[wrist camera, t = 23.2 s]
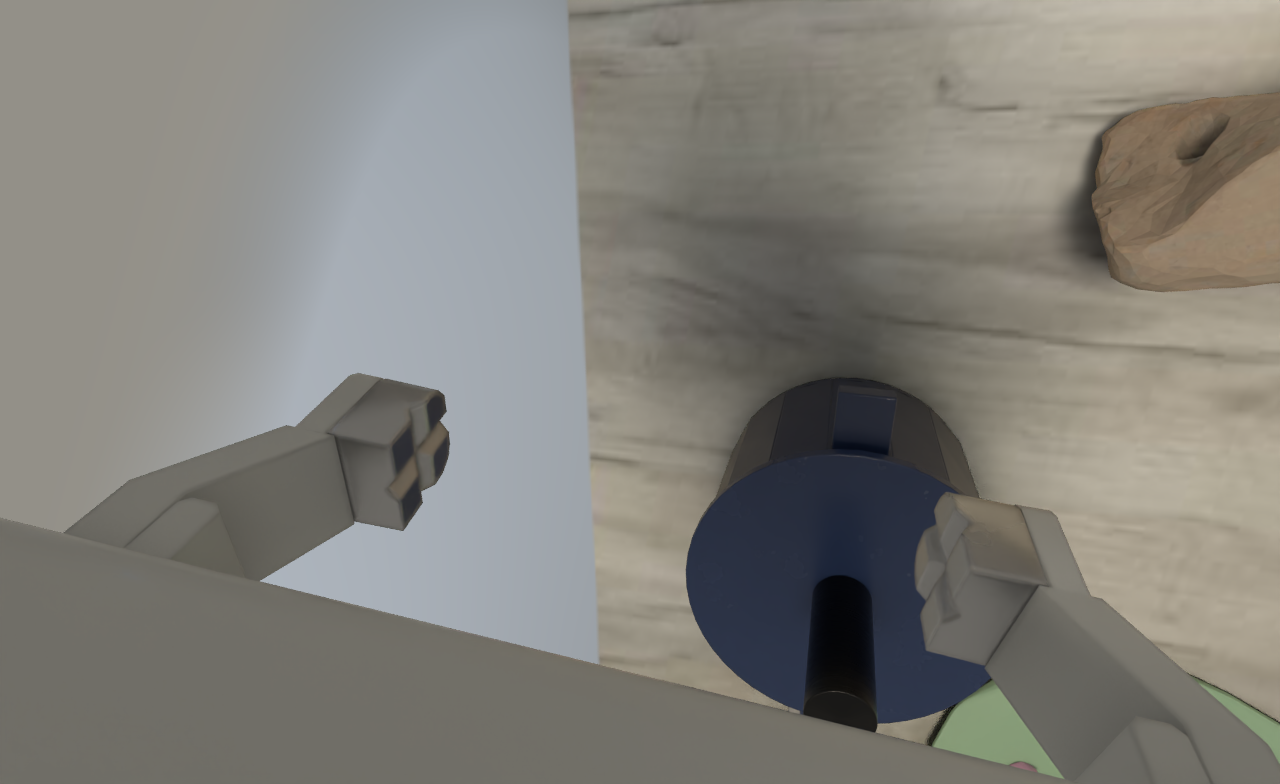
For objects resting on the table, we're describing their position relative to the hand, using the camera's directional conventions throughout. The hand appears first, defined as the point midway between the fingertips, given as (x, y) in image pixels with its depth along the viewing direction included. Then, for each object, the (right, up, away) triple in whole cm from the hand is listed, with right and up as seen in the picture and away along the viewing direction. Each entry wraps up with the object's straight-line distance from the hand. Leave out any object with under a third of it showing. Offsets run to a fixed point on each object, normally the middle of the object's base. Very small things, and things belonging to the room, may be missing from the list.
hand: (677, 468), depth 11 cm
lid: (+9, -8, +20) cm, 23 cm away
